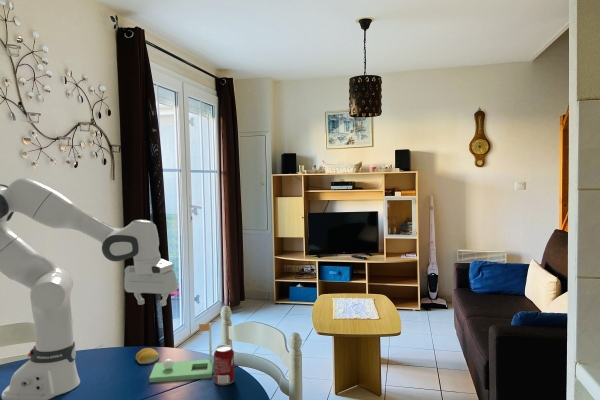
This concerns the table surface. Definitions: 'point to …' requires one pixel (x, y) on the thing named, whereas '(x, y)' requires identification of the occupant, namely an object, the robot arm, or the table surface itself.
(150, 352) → the bread roll
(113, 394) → the table surface
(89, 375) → the table surface
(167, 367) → the ball
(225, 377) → the soda can
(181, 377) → the green
